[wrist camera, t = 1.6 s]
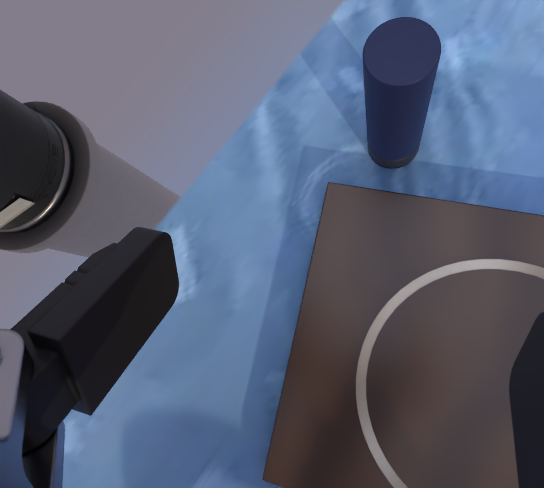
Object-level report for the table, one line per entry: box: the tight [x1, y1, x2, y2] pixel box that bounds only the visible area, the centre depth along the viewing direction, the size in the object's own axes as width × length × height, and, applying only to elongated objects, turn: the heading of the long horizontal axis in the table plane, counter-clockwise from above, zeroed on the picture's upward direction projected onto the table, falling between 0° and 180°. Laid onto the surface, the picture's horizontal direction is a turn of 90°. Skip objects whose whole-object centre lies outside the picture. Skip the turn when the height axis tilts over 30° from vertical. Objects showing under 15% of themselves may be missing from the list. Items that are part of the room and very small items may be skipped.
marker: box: [363, 17, 441, 168], centre depth 21 cm, size 3×3×9 cm
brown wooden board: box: [263, 182, 544, 488], centre depth 22 cm, size 18×16×1 cm
